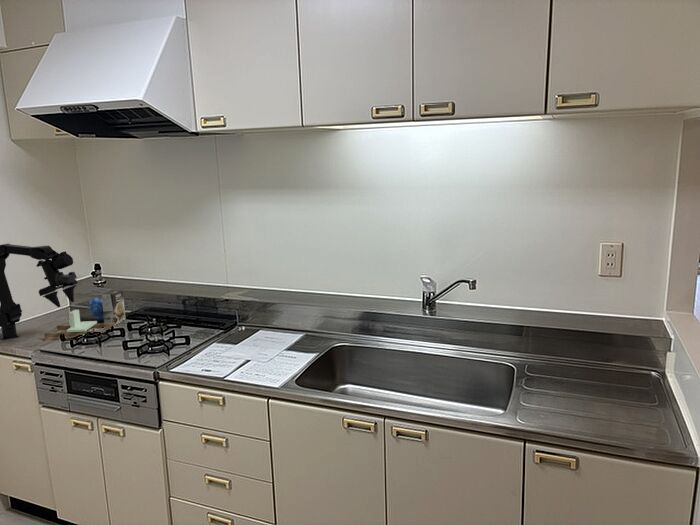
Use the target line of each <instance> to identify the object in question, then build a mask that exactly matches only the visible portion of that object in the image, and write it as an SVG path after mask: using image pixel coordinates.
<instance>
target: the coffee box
mask: <svg viewBox="0 0 700 525" xmlns="http://www.w3.org/2000/svg"><path fill="white" fill-rule="evenodd" d="M101 299H102V304H103V315H104V319H103V323H114V325H115V326H117V325H116V324H118V323H120V322H122V321H123V320H125V319H126V310H125V299H124V290H118V289H117V290H110V291H107V292H104V293H101ZM122 323H123V322H122ZM120 324H121V323H120ZM118 325H119V324H118Z"/></svg>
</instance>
